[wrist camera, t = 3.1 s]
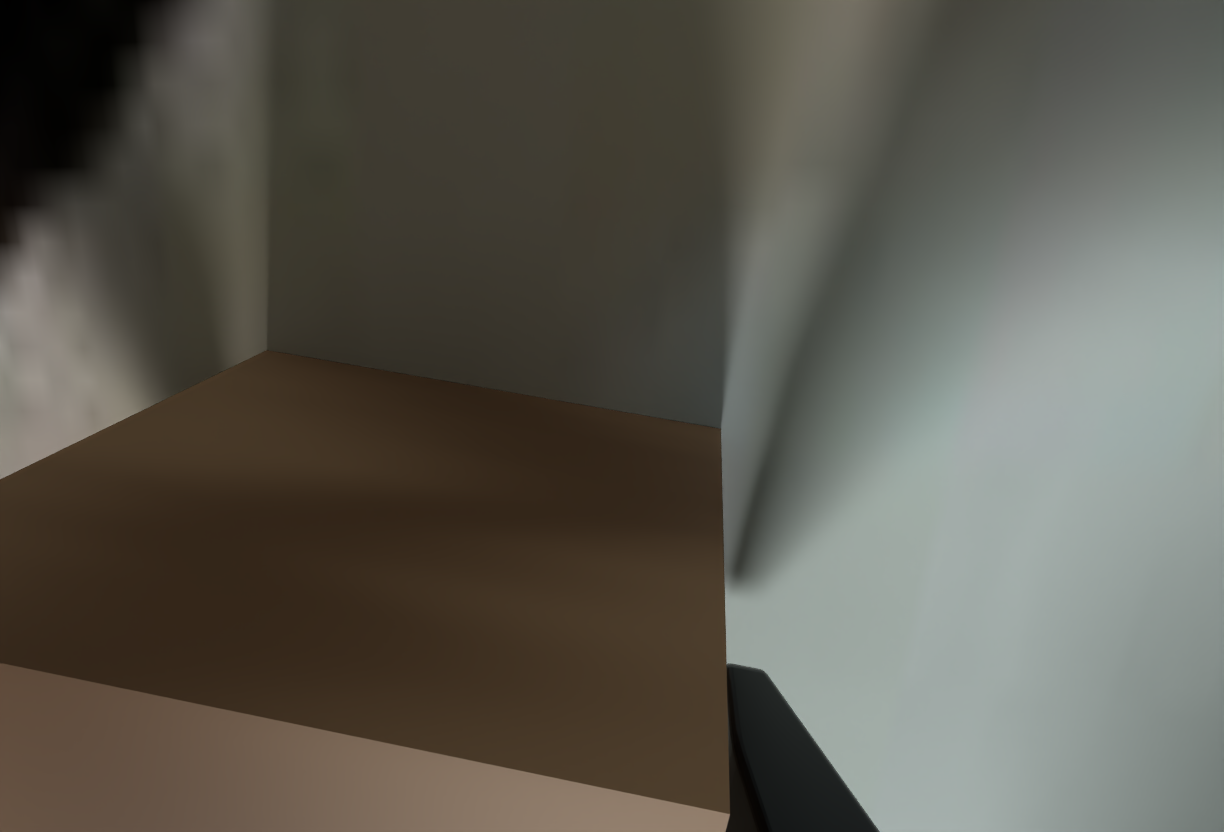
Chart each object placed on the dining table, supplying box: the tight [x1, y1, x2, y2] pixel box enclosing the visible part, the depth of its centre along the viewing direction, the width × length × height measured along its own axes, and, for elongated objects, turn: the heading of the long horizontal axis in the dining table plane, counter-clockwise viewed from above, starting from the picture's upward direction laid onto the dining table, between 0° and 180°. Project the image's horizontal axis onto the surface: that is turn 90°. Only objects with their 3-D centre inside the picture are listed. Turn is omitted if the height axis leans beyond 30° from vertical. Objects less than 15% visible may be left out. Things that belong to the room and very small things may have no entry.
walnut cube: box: [0, 350, 730, 832], centre depth 7 cm, size 5×5×5 cm
